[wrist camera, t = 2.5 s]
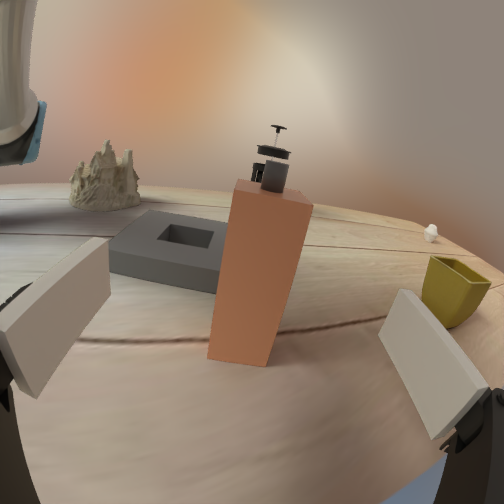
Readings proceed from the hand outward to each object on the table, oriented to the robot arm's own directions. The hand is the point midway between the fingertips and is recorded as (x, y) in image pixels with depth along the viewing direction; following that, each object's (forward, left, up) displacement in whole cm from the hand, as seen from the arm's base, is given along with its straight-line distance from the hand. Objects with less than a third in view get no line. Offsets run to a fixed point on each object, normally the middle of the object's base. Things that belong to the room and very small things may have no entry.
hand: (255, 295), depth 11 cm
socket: (-24, +13, -11) cm, 30 cm away
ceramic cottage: (-56, +10, -11) cm, 58 cm away
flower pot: (+10, +35, -11) cm, 38 cm away
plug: (-6, +7, -11) cm, 15 cm away
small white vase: (-2, +103, -11) cm, 104 cm away
